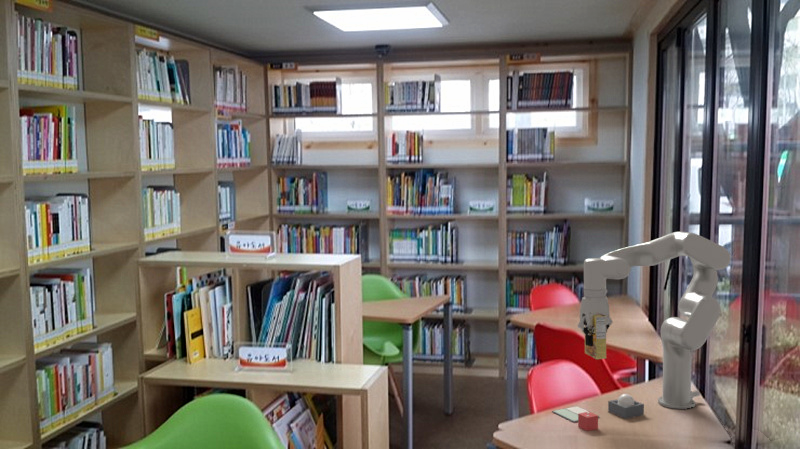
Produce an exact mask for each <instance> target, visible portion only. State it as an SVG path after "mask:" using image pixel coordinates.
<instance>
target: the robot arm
mask: <svg viewBox="0 0 800 449" xmlns="http://www.w3.org/2000/svg"><path fill="white" fill-rule="evenodd" d="M682 256H683V257H687V258H689V260H690V261H691V265H692V268H693V269H692V270H693V275H692V277H691V278H692V279H691V280H690V282H689V284H688V286H687V288H686V289H685V291H684V292H683V294H682V296H681V298H680V300H679V302H678V306H677V308H678V310H679V312H680V314H681V315H683V316H685V317H687V318H688V319H685V318H682V317H677V316H671V317H668V318H666V319H665V320H664V321H663V322H662V323H661V326H660V337H661V342H662V395H661V396H659V397H658V398H657V402H658V404H659V405H660V406H663V407H666V408H670V409H675V410H688V409H687V408H690V409H692V408H691V407H693V408H694V407H695V406H696V401H695V400H693V398H695V397H699V396H700V395H701V394H700V391H699V390H694V391H692V390H691V389H692V353H691V351H696V350H698V349H700V348H701V347H703V345H704V344H705V343H706V341H707V339H708V338H709V337H710V335H711V333H712V331H713V329H714V327H715V326H716V324H717V323H718V320H719V317H720V315H721V306H720V303H719V301H718V300H717V299H716V298H715V297H713V294H714V293H715V291H716V289H717V287H718V282H719V278H718V272H717V271H721V270H725V269H726V268H728V266H729V265H730V263H731V259H732V258H731V257H732V256H731V254H730V252H729V250H728V249H727V248H726V247H724V246H722V245H720V244H719V243H716V242H714V241H712V240H710V239H708V238H706V237H704V236H701V235H700V234H697V233H695V232H689V231H674V232H670V233H668V234H666V235H663V236H661V237H658V238H655V239H653V240H650V241H647V242H644V243H638V244H635V245H631V246H627V247H623V248H619V249H616V250H613V251H610V252H608V253H605V254H603V255H602V256H600V257H597V258H596V257H591V258H585V259H584V261H583V297H581V301H580V306H579V308H580V309H579V323H578V325H577V328H579V330H581V331H582V332H583V334H584V343H585V342H586V345H588V346H593V335H591V334H592V329H593V326H594V316H596V315H605V316H606V334H607V333H608V330H609V328H610V326H612V324H613V323H614V322H613V320H612V318H611V316H610V304H609V299H608V297H607V293H609V289H607V279H609V280H622V279H625V278H627V277H628V276H629V275H630V273H631V271H632V270H631V268H633V267H651V266H653V267H654V266H657V265H660V264H661V263H664V262H667V261H669V260H670V261H671V260H672V259H675V258H678V257H682ZM588 327H589V330H588Z"/></svg>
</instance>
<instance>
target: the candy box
mask: <svg viewBox="0 0 800 449" xmlns="http://www.w3.org/2000/svg"><path fill="white" fill-rule="evenodd" d="M588 330H589V327H588ZM591 335H593V346H588V345H586V342H585V341H584V354H586V355H587V356H589V357H591V358H593V359H595V360H606V359H607V333H606V316H605V315H596V316H594V326H593V329H592V334H591Z"/></svg>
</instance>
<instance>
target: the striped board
mask: <svg viewBox="0 0 800 449" xmlns="http://www.w3.org/2000/svg"><path fill="white" fill-rule="evenodd" d="M551 412H552V413H553V414H554V415H555V414H556V415H557V416H559V417H561V418H563V419H565V420H568V421H570V422H571V423H578V414H579V413H584V412H590V411H588V410H586V409H584V408H582V407H579V406H578V405H576V406H570V407H566V408H561V409H556V410H552V411H551ZM599 418H600V415H598V419H599Z"/></svg>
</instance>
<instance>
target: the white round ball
mask: <svg viewBox="0 0 800 449" xmlns="http://www.w3.org/2000/svg"><path fill="white" fill-rule="evenodd" d="M617 399H618V404H620V405H622V406H625V407H627V406H631V405H634V401H635V399H634V398H633V396H631V395H630V394H628V393H622V394H621V395H619V396H618V398H617Z"/></svg>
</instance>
